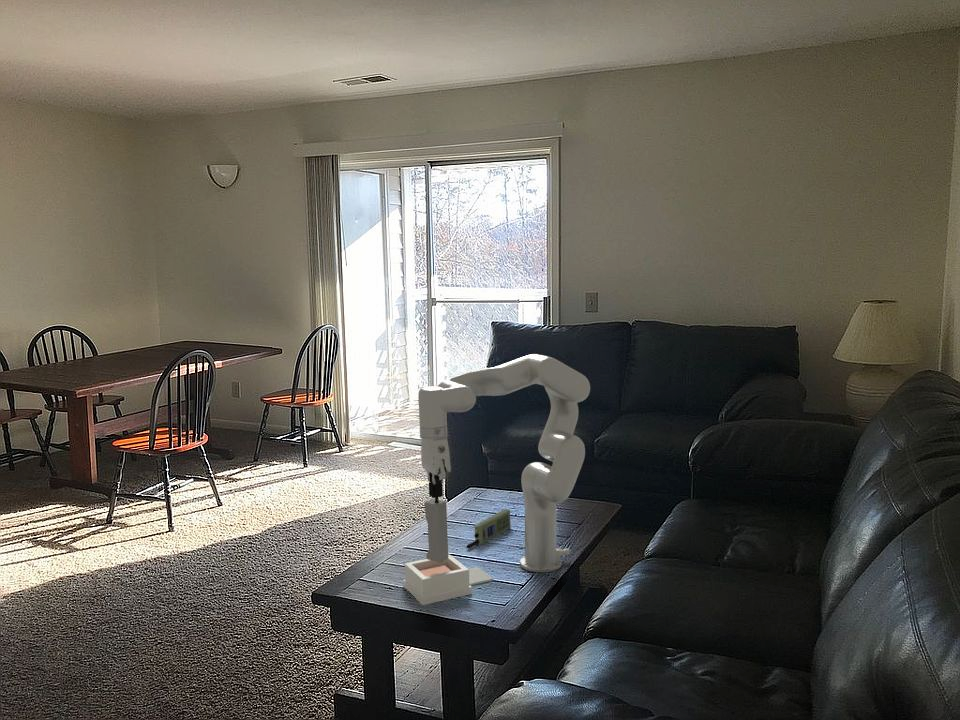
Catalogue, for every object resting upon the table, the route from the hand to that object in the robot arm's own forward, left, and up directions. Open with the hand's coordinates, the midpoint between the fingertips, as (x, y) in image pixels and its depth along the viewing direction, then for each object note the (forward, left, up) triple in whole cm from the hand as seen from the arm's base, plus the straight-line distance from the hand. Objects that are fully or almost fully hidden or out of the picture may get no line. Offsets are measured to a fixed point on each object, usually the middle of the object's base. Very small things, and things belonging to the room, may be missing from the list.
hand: (436, 495), depth 223 cm
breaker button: (0, 0, -25) cm, 25 cm away
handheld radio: (-32, -29, -28) cm, 51 cm away
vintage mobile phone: (0, 0, -19) cm, 19 cm away
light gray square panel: (-12, -3, -27) cm, 30 cm away
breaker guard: (0, 0, -27) cm, 27 cm away
